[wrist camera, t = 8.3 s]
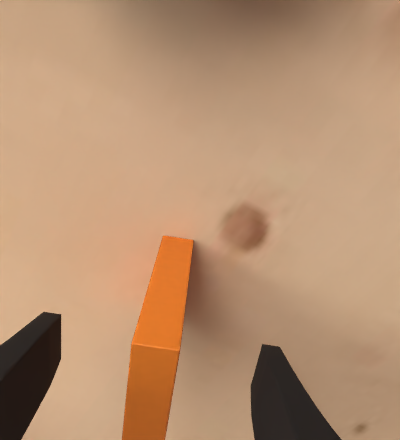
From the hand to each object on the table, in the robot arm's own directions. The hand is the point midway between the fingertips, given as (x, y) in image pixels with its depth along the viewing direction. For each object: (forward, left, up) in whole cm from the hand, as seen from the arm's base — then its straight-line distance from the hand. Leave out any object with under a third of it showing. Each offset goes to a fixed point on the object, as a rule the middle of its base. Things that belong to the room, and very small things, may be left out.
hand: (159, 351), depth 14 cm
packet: (0, 0, -5) cm, 5 cm away
